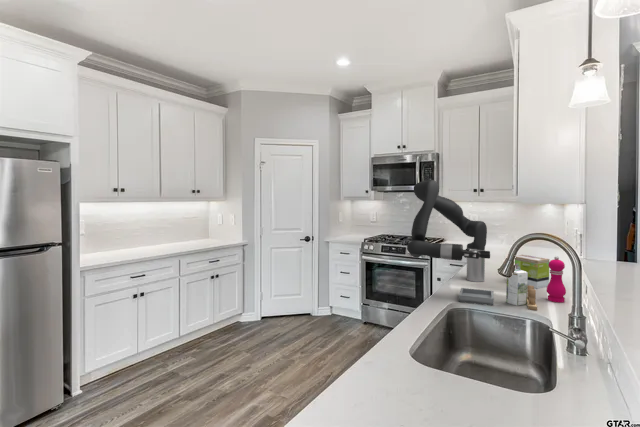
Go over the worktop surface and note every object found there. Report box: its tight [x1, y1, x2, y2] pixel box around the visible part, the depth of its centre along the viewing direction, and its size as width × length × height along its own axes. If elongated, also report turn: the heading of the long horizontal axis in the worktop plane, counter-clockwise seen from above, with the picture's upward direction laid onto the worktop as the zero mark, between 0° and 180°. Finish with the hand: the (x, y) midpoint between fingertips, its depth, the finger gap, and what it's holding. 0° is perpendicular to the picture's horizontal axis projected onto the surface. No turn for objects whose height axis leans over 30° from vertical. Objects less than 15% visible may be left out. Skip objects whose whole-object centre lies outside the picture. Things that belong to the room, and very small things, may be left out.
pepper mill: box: [546, 255, 567, 303], centre depth 156 cm, size 7×7×20 cm
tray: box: [458, 287, 495, 306], centre depth 160 cm, size 14×14×3 cm
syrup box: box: [505, 270, 528, 307], centre depth 152 cm, size 6×6×14 cm
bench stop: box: [526, 285, 538, 311], centre depth 150 cm, size 14×3×8 cm, turn 154°
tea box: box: [515, 254, 550, 290], centre depth 185 cm, size 15×10×15 cm, turn 25°
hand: (490, 254), depth 157 cm, fingers open, 8 cm apart
